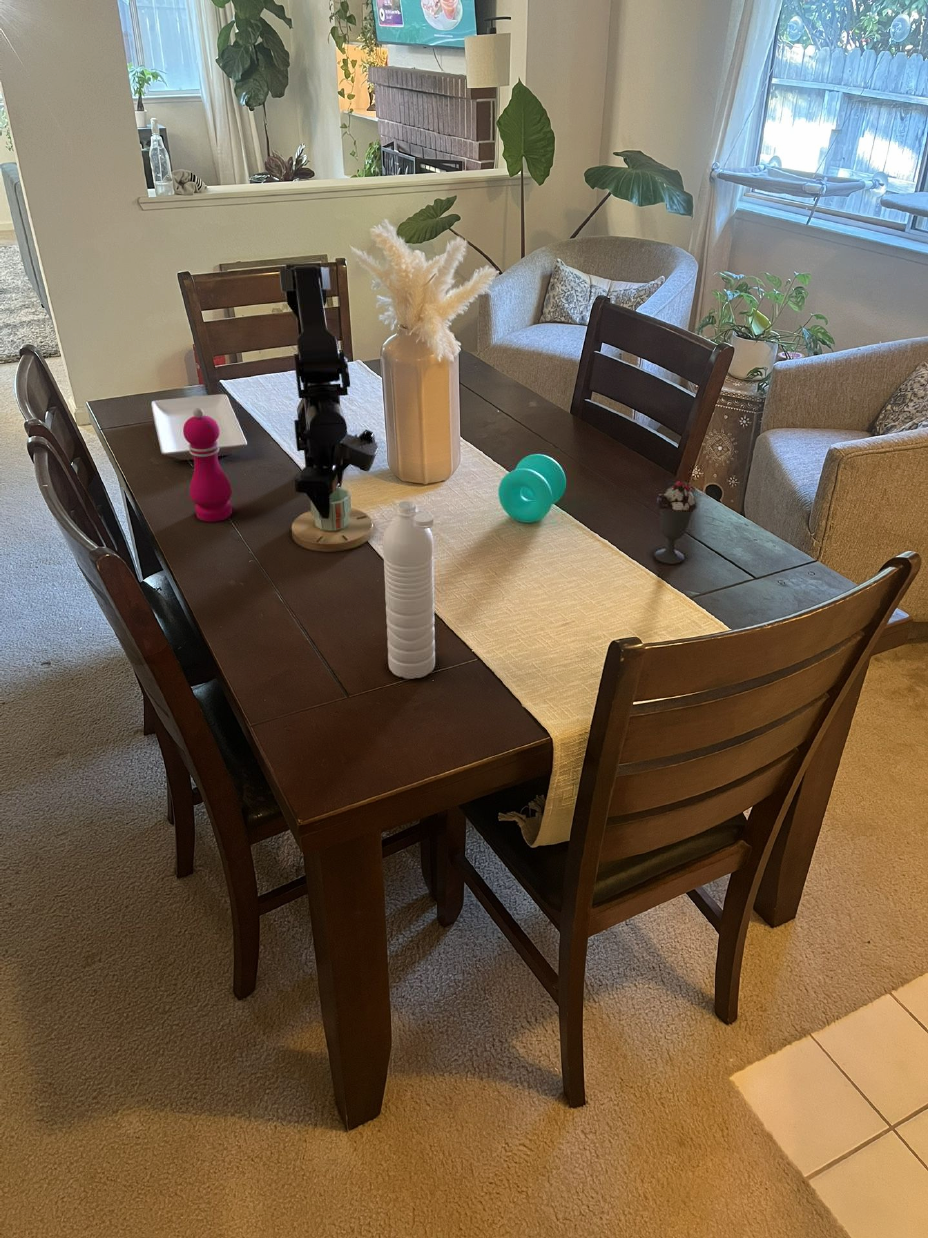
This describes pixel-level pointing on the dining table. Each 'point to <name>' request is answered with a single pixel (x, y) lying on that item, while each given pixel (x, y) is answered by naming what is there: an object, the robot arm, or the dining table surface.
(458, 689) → the dining table surface
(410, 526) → the water bottle
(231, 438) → the tray
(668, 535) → the sundae
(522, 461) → the teal yo-yo
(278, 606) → the dining table surface
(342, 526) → the green cup
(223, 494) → the pepper mill
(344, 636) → the dining table surface
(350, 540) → the turntable
